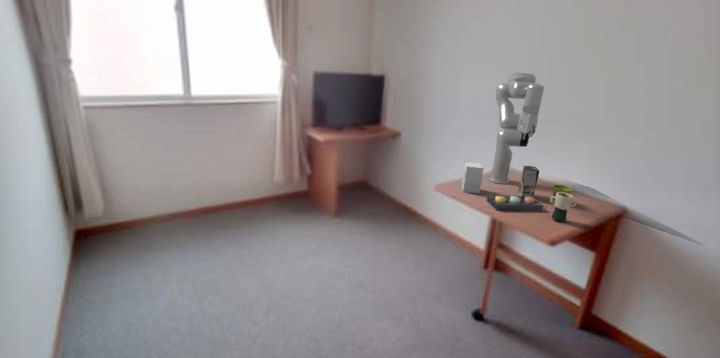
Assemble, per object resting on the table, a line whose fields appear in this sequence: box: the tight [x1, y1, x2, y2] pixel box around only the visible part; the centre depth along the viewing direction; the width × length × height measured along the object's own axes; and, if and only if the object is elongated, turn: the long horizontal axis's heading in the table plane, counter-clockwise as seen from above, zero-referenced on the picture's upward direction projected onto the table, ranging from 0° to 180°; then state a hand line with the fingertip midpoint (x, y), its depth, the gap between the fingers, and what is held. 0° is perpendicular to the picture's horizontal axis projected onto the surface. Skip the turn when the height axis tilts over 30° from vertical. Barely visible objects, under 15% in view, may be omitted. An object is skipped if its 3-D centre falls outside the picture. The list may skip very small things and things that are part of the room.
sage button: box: [510, 195, 521, 203], centre depth 190 cm, size 5×5×4 cm
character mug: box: [549, 192, 578, 223], centre depth 175 cm, size 11×7×13 cm, turn 71°
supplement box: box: [461, 161, 484, 195], centre depth 206 cm, size 9×9×15 cm
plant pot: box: [552, 184, 573, 201], centre depth 197 cm, size 9×9×9 cm
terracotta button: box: [524, 196, 537, 203], centre depth 191 cm, size 5×5×4 cm
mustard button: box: [495, 195, 506, 203], centre depth 189 cm, size 5×5×4 cm
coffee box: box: [517, 165, 540, 197], centre depth 203 cm, size 9×6×16 cm
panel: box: [486, 195, 544, 212], centre depth 190 cm, size 12×24×3 cm, turn 96°
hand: (523, 145), depth 191 cm, fingers closed
